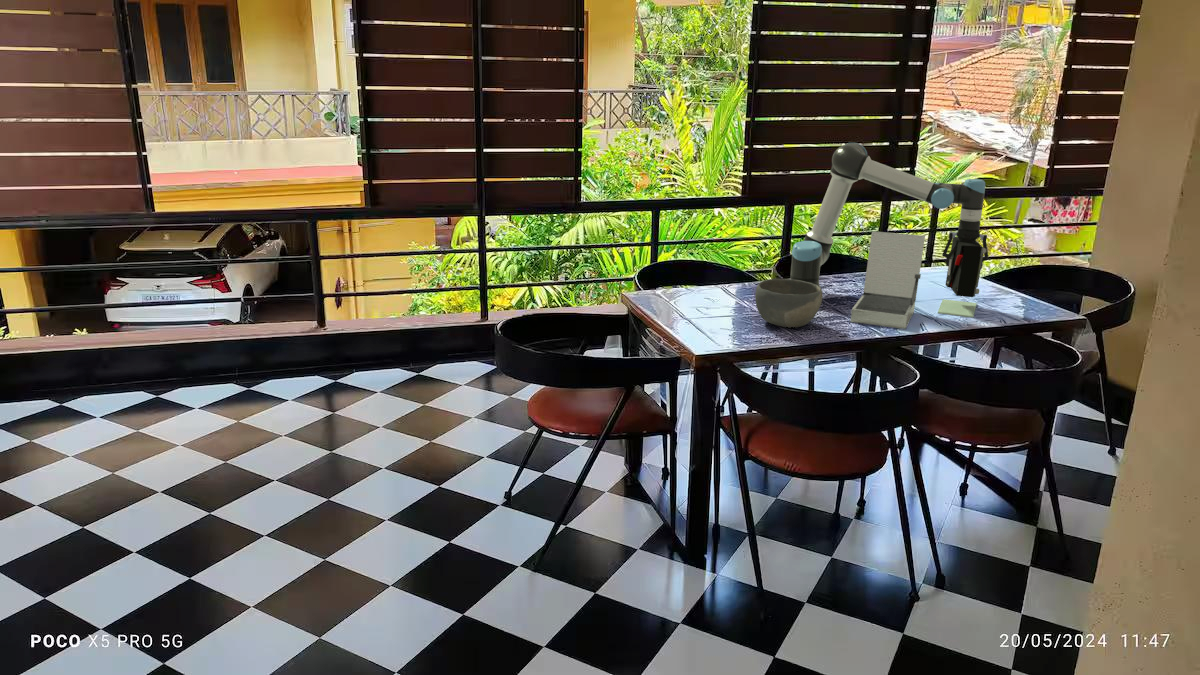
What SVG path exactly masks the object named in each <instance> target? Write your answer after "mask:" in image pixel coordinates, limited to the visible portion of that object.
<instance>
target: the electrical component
mask: <svg viewBox="0 0 1200 675" xmlns="http://www.w3.org/2000/svg"><path fill="white" fill-rule="evenodd" d="M958 241H959V238H958V237H957V236H955V237H954V238H953V239H952V241H951V248H950V251H951V250H952V249H953V248H954V246H955V245H956V244H957V246H956V251H955V252H954V253H953V255H952V256H951V257H950V258H952V264H951V272H950V275H948V271H947V273H946V280H945V286H946V287H947V288H950V289H951V290H952V291H953V293H954V294H955V296H956V297H968V298H974V297H976V295H979V293H980V288H978V287H979V282H980V276H981V270H982V269H981V265H982V259H983V257H984V254H985V253H986V249H985V248H983V245H981V244H980V242H979V241H978V240H976V243H972V242H958ZM982 266H983V265H982ZM948 268H949V266H947V269H948Z"/></svg>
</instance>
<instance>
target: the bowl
mask: <svg viewBox="0 0 1200 675" xmlns="http://www.w3.org/2000/svg"><path fill="white" fill-rule="evenodd" d="M754 294H755V296H754V298H755V305H756V309H757V311H758V314H759V315H760V317H761V318H762V319H763V320H764V321H766V322H767V323H769V324H772V325H774V326H778V327H782V328H786V327H788V328H790V329H791V327H793V328H794V327H795V328H796V329H797V328H800V327H804V326H806V325H807V324H809V323H810V322H811V321H812V320H813V319H814V318H815V316H817V315H816V314H817V313H818V312H819V309H820V307H821V305H822V302H823V290H822V288H821V286H820V287H819V286H818V285H816V284H813V283H809V282H805V281H800V280H793V279H790V278H789V279H788V278H771V279H766V280H763V281H761V282H759V283H758V284H757V285H756V289H755V293H754Z"/></svg>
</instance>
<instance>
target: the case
mask: <svg viewBox="0 0 1200 675" xmlns="http://www.w3.org/2000/svg"><path fill="white" fill-rule="evenodd" d="M870 237H871V238H870V244H869V251H868V256H867V258H868V259H867V265H866V272H865V281H864V286H863V293H862V295H861V297H860V298H859V299H858V300H857V301H856V303H855V304H854V306H853V307H852V308H851V312H850V323H855V324H856V323H857V324H863V325H873V326H879V327H888V328H894V329H902V330H906V329H907V328H908V325H909V323H910V321H911V318H912V317H913V315H914V313H915V306H916V301H917V293H918V286H919V282H920V281H919V280H920V279H921V277H922V274H921V266H922V260H923V252H924V246H925V239H926V235H919V234H909V233H907V234H906V233H897V232H896V233H895V232H886V231H885V232H884V231H874V230H873V231H871V236H870Z"/></svg>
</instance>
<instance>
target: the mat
mask: <svg viewBox="0 0 1200 675" xmlns="http://www.w3.org/2000/svg"><path fill="white" fill-rule="evenodd" d="M977 305H978V303H977V302H969V301H962V300H961V301H960V300H954V299H953V300H952V299H945V298H944V299H943V298H942V300H941V302H940V306H939V307H938V310H937V314H940V315H941V314H942V315H950V316H958V317H963V318H964V317H965V318H974V316H975V312H976V308H977Z"/></svg>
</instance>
